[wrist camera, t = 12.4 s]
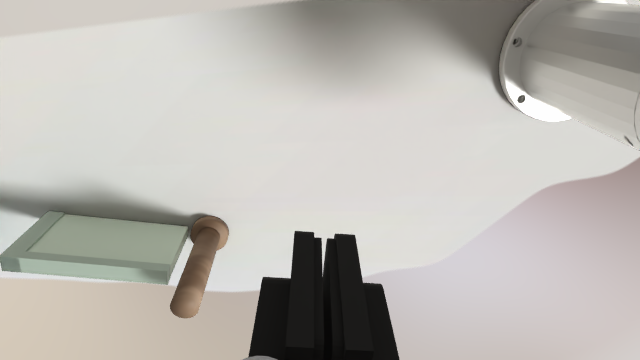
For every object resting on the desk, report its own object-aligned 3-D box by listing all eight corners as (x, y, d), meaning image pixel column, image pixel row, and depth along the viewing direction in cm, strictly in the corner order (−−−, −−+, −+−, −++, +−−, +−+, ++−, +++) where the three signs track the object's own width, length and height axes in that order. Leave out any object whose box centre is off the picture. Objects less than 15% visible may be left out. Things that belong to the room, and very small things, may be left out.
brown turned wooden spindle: (231, 219, 45) (211, 293, 34) (225, 249, 47) (204, 328, 36) (194, 213, 45) (162, 285, 34) (190, 243, 46) (158, 321, 35)
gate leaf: (188, 225, 45) (167, 271, 38) (187, 237, 45) (167, 284, 38) (48, 210, 43) (-1, 256, 36) (50, 223, 44) (2, 270, 37)
